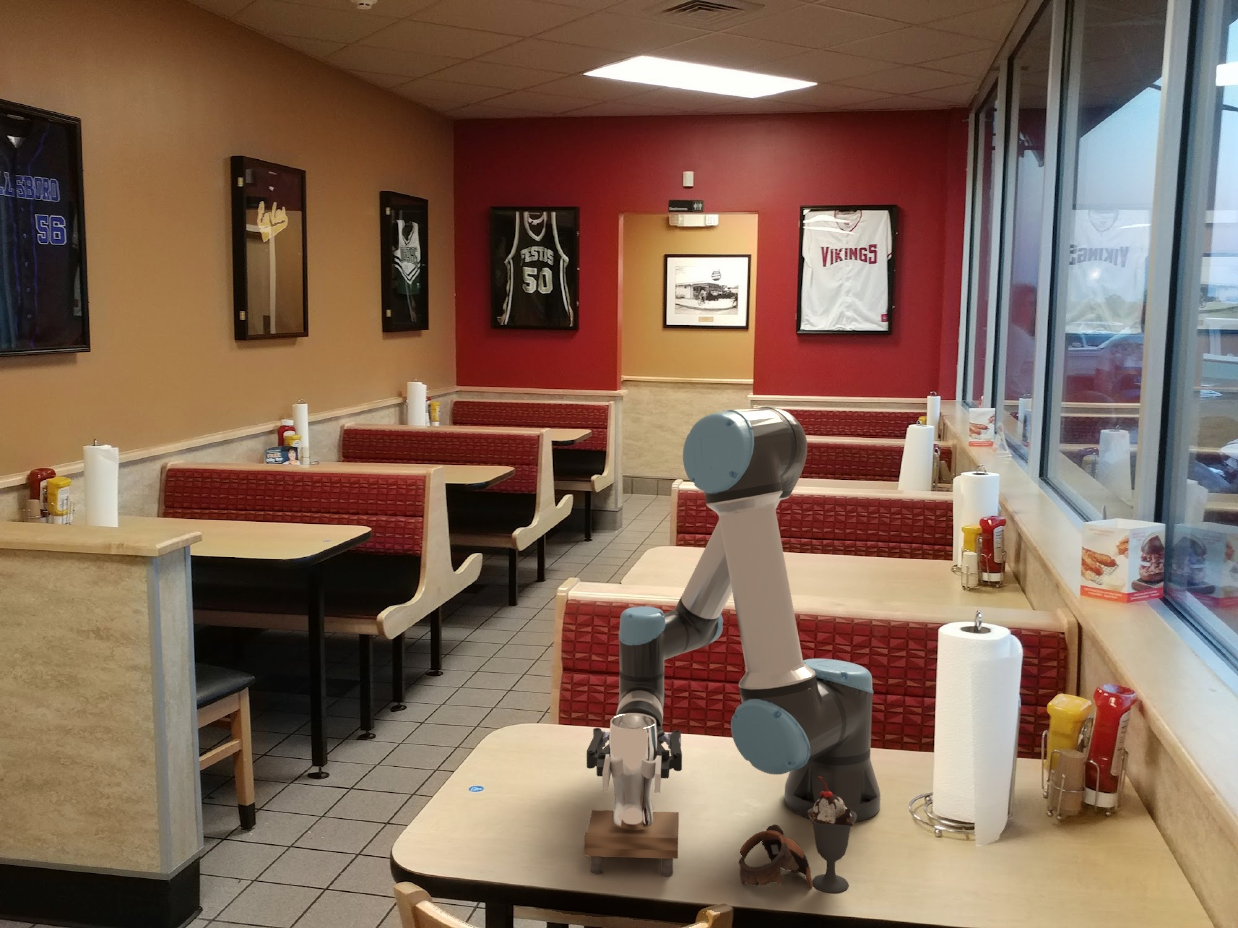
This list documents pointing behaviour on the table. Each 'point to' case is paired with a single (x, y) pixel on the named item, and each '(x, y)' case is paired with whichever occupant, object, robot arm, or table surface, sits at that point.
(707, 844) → the table surface
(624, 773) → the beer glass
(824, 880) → the sundae
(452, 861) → the table surface
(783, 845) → the broken clay pot
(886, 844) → the table surface
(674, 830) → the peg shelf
